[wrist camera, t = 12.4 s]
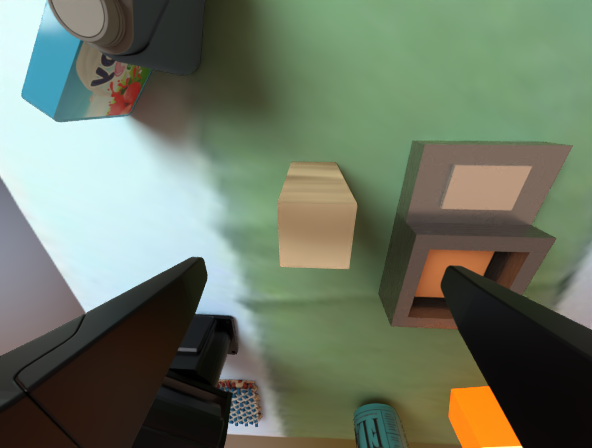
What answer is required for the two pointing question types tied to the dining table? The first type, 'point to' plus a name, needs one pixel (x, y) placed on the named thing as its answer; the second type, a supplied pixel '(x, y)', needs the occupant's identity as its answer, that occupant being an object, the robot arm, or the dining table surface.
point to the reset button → (443, 259)
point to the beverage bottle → (378, 427)
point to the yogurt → (78, 77)
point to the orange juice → (480, 419)
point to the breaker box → (468, 218)
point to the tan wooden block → (315, 217)
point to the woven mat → (242, 401)
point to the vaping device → (138, 30)
